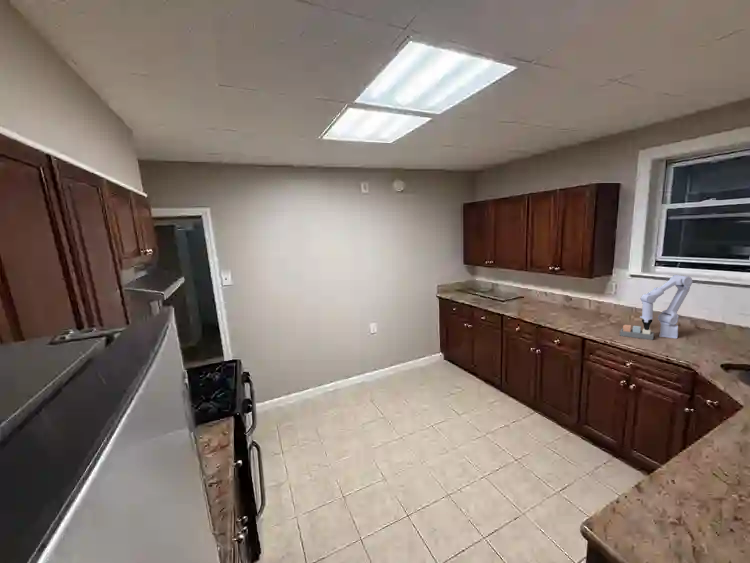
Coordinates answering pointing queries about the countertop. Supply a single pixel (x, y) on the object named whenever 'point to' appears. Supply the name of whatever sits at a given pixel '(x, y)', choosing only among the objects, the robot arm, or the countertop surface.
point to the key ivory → (646, 331)
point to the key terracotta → (627, 328)
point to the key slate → (637, 329)
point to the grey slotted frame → (637, 334)
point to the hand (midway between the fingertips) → (646, 329)
